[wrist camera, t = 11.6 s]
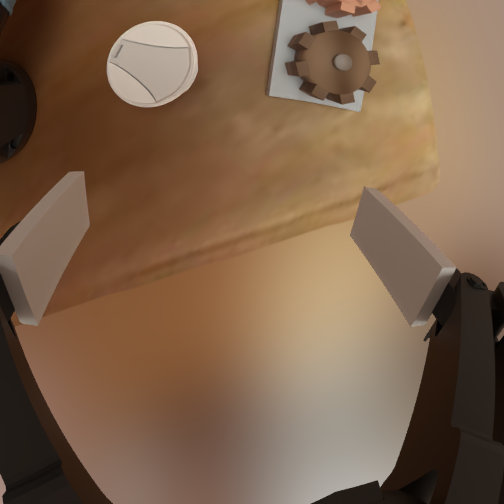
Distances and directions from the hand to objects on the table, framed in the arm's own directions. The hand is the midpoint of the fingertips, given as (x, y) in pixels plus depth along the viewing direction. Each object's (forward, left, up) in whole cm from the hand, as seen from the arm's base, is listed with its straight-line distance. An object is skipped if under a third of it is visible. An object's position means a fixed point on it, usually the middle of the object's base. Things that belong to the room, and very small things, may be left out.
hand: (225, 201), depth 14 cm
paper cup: (-6, +6, -27) cm, 28 cm away
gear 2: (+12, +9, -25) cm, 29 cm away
